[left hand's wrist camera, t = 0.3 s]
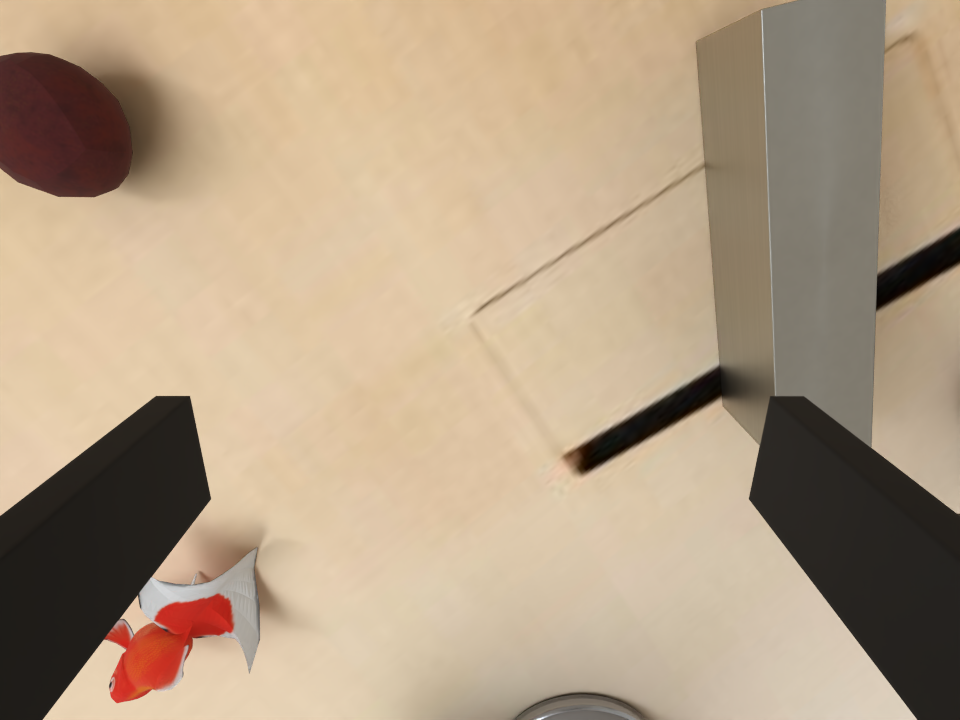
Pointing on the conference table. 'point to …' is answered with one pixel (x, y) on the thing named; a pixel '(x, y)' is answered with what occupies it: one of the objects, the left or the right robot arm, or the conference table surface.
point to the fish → (184, 628)
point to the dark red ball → (60, 127)
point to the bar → (795, 204)
